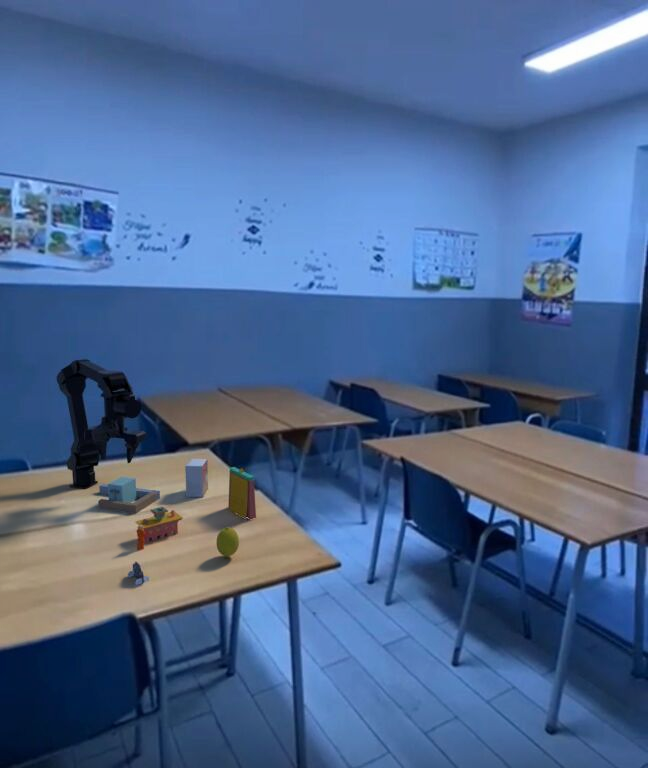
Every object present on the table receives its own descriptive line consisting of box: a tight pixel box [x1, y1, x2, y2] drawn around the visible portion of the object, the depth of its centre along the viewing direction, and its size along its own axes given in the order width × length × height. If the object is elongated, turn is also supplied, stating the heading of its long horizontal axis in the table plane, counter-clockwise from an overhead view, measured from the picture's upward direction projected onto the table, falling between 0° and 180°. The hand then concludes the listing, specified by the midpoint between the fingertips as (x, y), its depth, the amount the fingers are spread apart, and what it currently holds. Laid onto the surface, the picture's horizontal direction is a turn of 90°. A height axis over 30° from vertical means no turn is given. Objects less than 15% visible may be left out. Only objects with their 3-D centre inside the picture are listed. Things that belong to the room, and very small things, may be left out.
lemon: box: [216, 526, 240, 558], centre depth 142 cm, size 6×6×8 cm
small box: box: [184, 458, 209, 498], centre depth 186 cm, size 8×6×10 cm
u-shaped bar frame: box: [97, 483, 161, 515], centre depth 178 cm, size 21×13×2 cm, turn 74°
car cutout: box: [127, 561, 150, 586], centre depth 128 cm, size 15×7×4 cm, turn 40°
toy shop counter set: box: [134, 466, 257, 551], centre depth 159 cm, size 12×35×14 cm, turn 130°
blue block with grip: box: [107, 476, 137, 503], centre depth 177 cm, size 5×8×7 cm, turn 164°
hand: (116, 461), depth 178 cm, fingers open, 9 cm apart
